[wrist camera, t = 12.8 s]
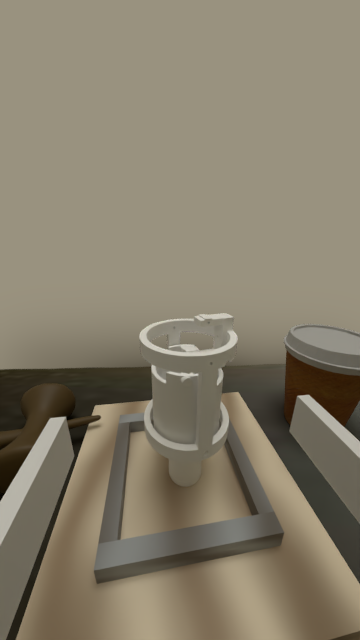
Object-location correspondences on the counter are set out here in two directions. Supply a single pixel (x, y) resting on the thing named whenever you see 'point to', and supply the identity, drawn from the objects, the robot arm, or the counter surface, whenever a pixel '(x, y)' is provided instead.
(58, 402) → the kendama
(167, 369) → the white slotted cylindrical housing
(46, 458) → the robot arm
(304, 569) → the locating board
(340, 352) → the disposable coffee cup
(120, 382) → the counter surface
